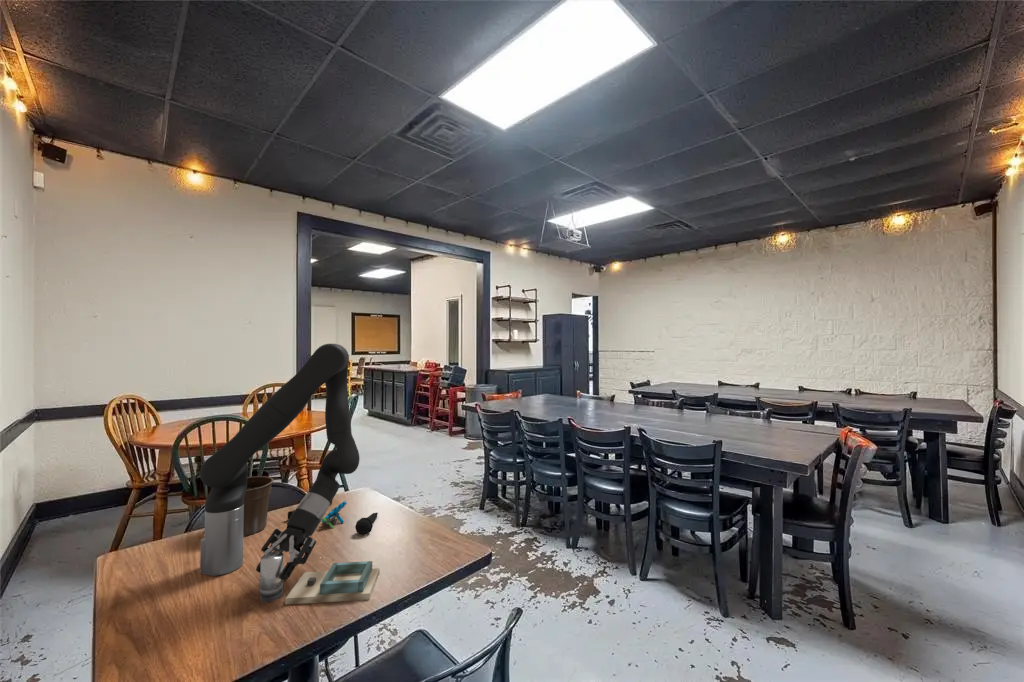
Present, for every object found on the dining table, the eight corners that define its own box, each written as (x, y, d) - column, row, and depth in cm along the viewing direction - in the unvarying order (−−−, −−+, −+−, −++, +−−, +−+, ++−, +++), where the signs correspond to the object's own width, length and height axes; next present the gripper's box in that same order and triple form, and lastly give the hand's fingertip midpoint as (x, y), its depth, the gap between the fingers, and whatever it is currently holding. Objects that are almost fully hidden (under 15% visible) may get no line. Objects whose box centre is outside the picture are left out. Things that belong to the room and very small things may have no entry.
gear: (335, 511, 157) (349, 495, 154) (345, 523, 156) (359, 507, 153) (312, 526, 147) (327, 510, 144) (323, 539, 146) (338, 523, 143)
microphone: (372, 523, 158) (355, 540, 138) (367, 508, 158) (351, 523, 139) (386, 518, 158) (372, 534, 139) (381, 503, 159) (367, 517, 139)
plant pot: (241, 543, 134) (242, 493, 134) (205, 536, 139) (206, 488, 139) (283, 523, 149) (284, 478, 150) (249, 518, 154) (250, 474, 155)
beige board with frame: (285, 604, 102) (285, 588, 102) (304, 577, 114) (304, 563, 114) (369, 599, 104) (369, 583, 104) (379, 573, 116) (379, 559, 116)
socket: (255, 603, 102) (256, 562, 103) (265, 591, 108) (266, 552, 108) (277, 601, 103) (278, 561, 103) (286, 589, 108) (287, 551, 108)
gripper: (282, 503, 116) (241, 564, 105) (320, 511, 111) (280, 576, 100) (299, 515, 121) (261, 575, 110) (335, 523, 115) (299, 587, 105)
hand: (270, 575), depth 105 cm, fingers open, 8 cm apart
